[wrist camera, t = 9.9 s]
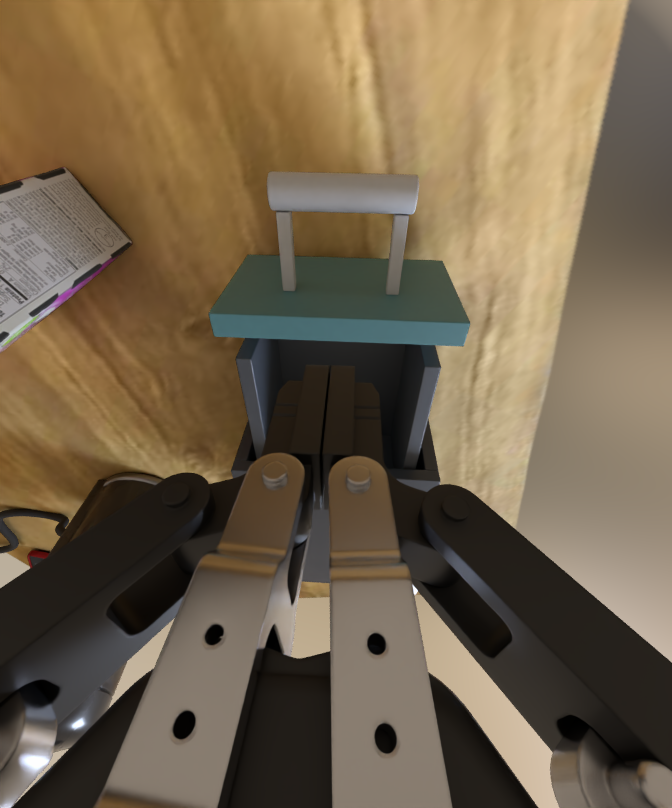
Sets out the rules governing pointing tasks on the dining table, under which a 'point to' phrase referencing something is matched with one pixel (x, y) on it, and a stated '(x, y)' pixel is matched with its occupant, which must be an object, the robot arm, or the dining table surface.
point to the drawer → (343, 310)
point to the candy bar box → (49, 247)
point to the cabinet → (319, 534)
